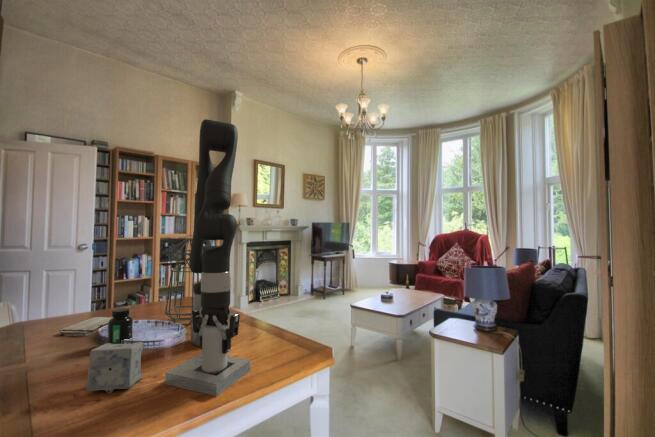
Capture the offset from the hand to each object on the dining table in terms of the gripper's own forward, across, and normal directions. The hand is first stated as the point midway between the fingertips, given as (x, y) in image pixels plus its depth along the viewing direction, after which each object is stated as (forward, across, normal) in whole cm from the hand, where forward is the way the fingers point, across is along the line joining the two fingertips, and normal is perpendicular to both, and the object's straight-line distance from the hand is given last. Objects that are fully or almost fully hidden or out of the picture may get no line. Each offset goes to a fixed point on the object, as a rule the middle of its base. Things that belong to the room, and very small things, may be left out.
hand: (215, 350), depth 84 cm
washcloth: (+8, -70, +15) cm, 72 cm away
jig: (+7, -2, 0) cm, 8 cm away
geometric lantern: (+7, -42, +35) cm, 56 cm away
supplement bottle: (+7, -44, +7) cm, 45 cm away
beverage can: (+5, 0, 0) cm, 5 cm away
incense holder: (+8, -21, -12) cm, 25 cm away
